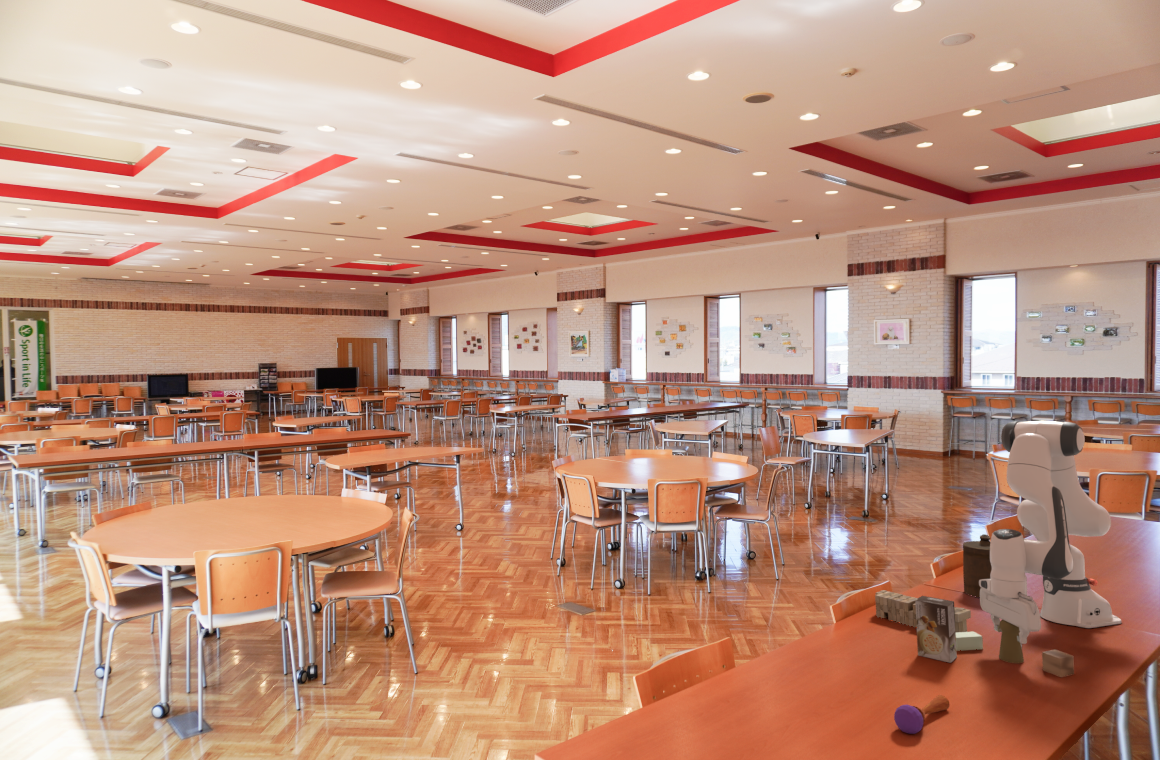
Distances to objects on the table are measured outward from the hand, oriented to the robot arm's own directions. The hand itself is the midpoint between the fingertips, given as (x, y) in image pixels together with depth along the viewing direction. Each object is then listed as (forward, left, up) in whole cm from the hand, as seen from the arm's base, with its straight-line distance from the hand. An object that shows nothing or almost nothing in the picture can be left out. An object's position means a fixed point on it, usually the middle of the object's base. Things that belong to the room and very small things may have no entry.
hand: (1010, 636), depth 195 cm
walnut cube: (-6, +10, -7) cm, 13 cm away
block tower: (+9, -31, -7) cm, 33 cm away
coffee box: (+19, -5, -7) cm, 20 cm away
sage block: (+7, -10, -7) cm, 14 cm away
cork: (0, 0, -7) cm, 7 cm away
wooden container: (-33, -57, -7) cm, 66 cm away
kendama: (+45, +31, -7) cm, 55 cm away
